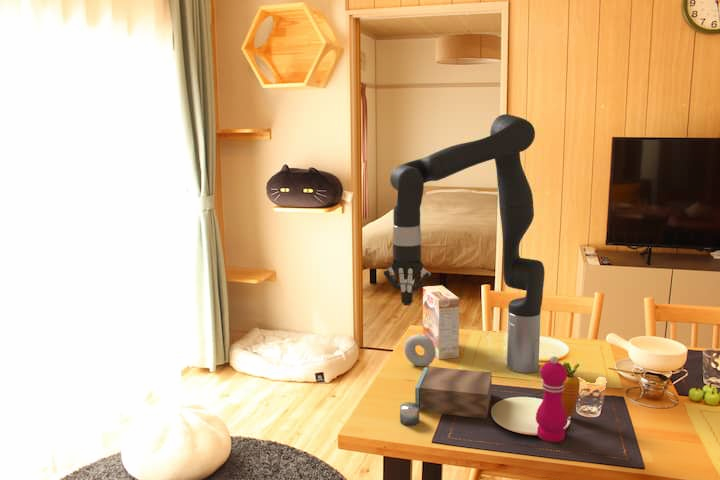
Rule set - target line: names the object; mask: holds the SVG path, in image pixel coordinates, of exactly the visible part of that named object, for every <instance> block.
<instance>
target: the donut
mask: <svg viewBox="0 0 720 480" xmlns="http://www.w3.org/2000/svg"><path fill="white" fill-rule="evenodd" d="M417 346H419V347H421V348H422V349H423V350H424V351H423V352H424V354H421V355H420V354H419V353H417V351H416V347H417ZM403 349H404V354H405V356H406V357H405V358H406V359H407V360H408V361H409V363H410V364H413V365H414V366H417V367H426V366H429V365H431V364H432V363H433V361H434V359H435V358H436V356H435V354H436V351H435V346H434V344H433V342H432V341H431V340H430V339H429V338H428V337H426V336H424V335H423V334H413V335H411V336H409V337H408V338H407V339H406V341H405V343H404V348H403Z"/></svg>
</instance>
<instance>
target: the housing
mask: <svg viewBox="0 0 720 480" xmlns="http://www.w3.org/2000/svg"><path fill="white" fill-rule="evenodd" d="M492 374H493V373H492V371H481V370H471V369H470V370H469V369H460V368H450V367H437V366H428V371H427V373H426V375H425V378H424V380H423V382H422V385H421V387H420V409H419V412H422V413H423V412H426V413H432V414H433V413H434V414H442V415H451V416H453V415H454V416H460V417H467V418H468V417H469V418H470V417H471V418H478V419H479V418H480V419H487V418H488V414H489V413H488V412H489V409H490V402H491V397H492V386H493V385H492V382H493V381H492V377H493V375H492Z"/></svg>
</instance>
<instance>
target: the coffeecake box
mask: <svg viewBox="0 0 720 480" xmlns="http://www.w3.org/2000/svg"><path fill="white" fill-rule="evenodd" d="M422 335H424V336H426V337H428V338H429V339H430V340H431V341H432V342H433V344H434V346H435V351H436V354H435V358H437V359H438V360H446V359H454V358H455V359H456V358H459V357H460V356H459V354H460V352H459V351H460V349H459V348H460V346H459V344H460V297H458V296H457V295H455V294H454V293H453V292H451V291H450V290H449V289H448V288H446V287H445V286H444V285H442V284H441V285H432V286H431V285H428V286H423V287H422Z"/></svg>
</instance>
